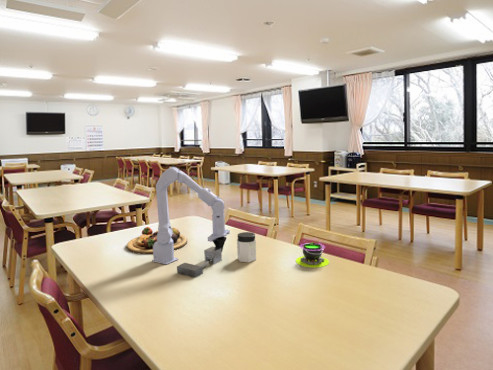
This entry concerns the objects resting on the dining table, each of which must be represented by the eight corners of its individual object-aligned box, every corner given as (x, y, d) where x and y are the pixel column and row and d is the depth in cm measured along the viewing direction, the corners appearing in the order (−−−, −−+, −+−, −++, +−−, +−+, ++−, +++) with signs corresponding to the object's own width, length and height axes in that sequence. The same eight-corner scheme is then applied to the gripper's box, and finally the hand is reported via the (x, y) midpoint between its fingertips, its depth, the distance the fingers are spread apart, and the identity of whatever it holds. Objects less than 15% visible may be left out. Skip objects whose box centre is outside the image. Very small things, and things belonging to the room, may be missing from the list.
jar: (246, 264, 156) (245, 238, 155) (233, 259, 162) (233, 234, 161) (259, 258, 162) (259, 234, 161) (247, 254, 168) (247, 230, 167)
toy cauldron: (314, 270, 147) (315, 245, 146) (288, 261, 159) (288, 238, 157) (336, 261, 157) (336, 238, 155) (309, 253, 168) (309, 231, 167)
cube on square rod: (204, 262, 159) (204, 250, 159) (212, 258, 164) (212, 246, 164) (213, 264, 157) (213, 251, 156) (221, 260, 162) (221, 248, 161)
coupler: (177, 273, 148) (176, 266, 147) (197, 263, 159) (197, 256, 159) (195, 277, 142) (194, 270, 142) (215, 267, 154) (215, 260, 153)
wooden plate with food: (123, 241, 197) (122, 227, 195) (179, 233, 210) (178, 219, 208) (130, 260, 168) (129, 243, 166) (194, 249, 181) (193, 233, 180)
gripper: (215, 229, 154) (217, 258, 156) (234, 221, 166) (235, 249, 168) (203, 227, 158) (204, 255, 160) (222, 220, 170) (223, 247, 172)
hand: (219, 252), depth 164 cm, fingers closed
